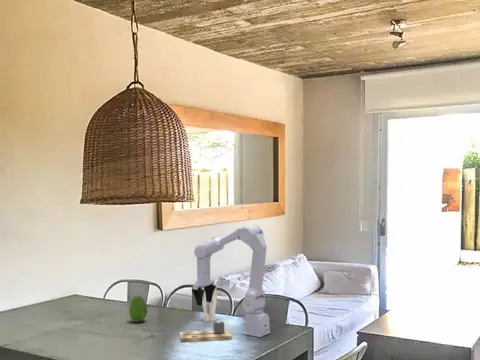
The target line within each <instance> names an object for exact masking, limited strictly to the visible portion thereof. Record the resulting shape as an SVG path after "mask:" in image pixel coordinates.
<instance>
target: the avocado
mask: <svg viewBox="0 0 480 360" xmlns="http://www.w3.org/2000/svg"><path fill="white" fill-rule="evenodd" d="M147 307H148V306H147V305H146V302H145V299H144V298H143V297H142V296H140V295H139V294H137V295H134V296H133V298H132V299H131V302H130V306H129V310H128V311H129V318H130V319H131V321H132V322H134V323H141V322H142V321H144V320H145V318H146V317H147V314H148V308H147Z"/></svg>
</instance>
